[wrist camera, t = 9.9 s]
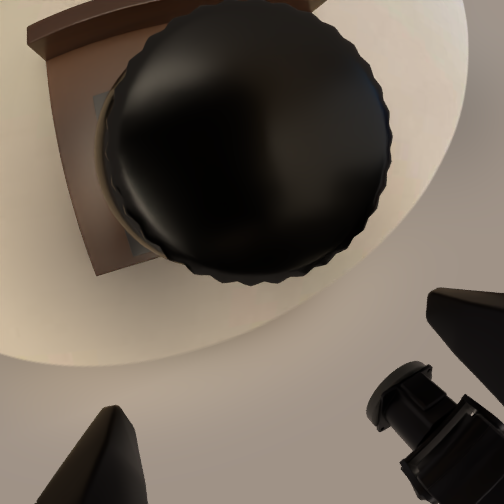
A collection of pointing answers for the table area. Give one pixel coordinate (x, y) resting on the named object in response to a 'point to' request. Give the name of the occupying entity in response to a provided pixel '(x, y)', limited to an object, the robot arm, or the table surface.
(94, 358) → the table surface
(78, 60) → the shelf
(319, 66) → the supplement bottle
